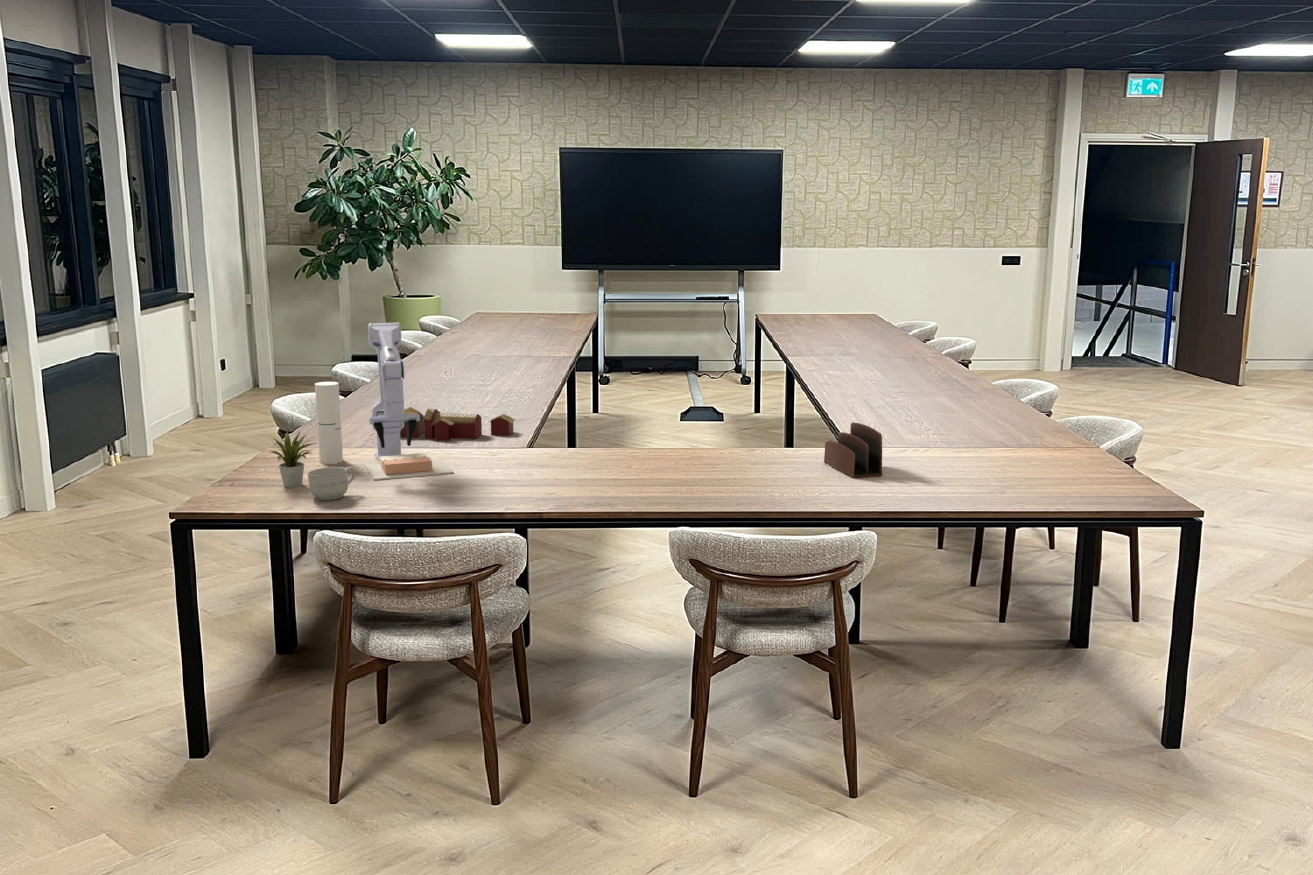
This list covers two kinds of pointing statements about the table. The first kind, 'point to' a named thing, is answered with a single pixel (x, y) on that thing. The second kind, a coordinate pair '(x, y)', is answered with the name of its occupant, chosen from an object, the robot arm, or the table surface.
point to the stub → (407, 465)
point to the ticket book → (400, 457)
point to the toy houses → (455, 425)
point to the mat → (437, 469)
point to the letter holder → (856, 452)
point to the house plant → (292, 460)
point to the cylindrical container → (328, 422)
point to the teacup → (329, 482)
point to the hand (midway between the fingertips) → (395, 446)
